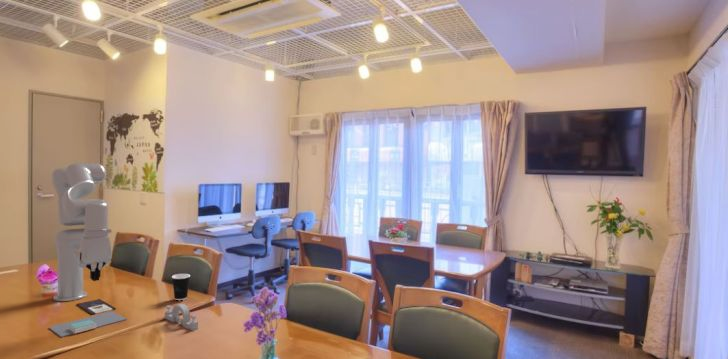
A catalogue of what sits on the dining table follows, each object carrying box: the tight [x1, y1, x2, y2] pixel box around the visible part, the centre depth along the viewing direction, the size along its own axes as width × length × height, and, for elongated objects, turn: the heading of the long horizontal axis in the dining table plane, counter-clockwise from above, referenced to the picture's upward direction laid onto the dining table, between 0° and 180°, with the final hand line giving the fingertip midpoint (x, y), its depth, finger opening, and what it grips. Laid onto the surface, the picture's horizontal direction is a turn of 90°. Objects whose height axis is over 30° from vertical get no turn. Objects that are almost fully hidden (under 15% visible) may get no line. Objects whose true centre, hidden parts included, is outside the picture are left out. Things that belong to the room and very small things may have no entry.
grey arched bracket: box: [164, 303, 199, 331], centre depth 161 cm, size 20×2×8 cm, turn 55°
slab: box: [69, 320, 98, 334], centre depth 153 cm, size 7×2×6 cm
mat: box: [48, 310, 128, 338], centre depth 158 cm, size 13×22×1 cm, turn 144°
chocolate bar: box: [76, 298, 117, 316], centre depth 176 cm, size 9×1×18 cm
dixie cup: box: [171, 273, 191, 301], centre depth 189 cm, size 8×8×11 cm
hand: (95, 279), depth 159 cm, fingers closed
